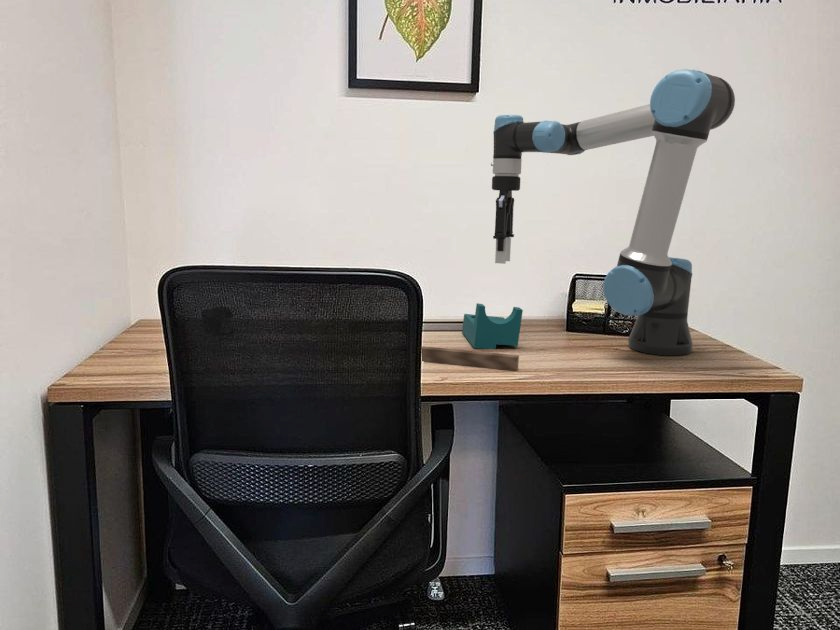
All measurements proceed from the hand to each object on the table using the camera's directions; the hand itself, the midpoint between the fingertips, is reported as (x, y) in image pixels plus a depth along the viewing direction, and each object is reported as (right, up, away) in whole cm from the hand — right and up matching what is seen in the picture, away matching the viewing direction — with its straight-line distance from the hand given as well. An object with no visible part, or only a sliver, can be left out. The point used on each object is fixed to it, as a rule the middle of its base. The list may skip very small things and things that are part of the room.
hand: (502, 261), depth 188 cm
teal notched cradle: (-5, -21, -10) cm, 24 cm away
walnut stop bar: (-12, -26, -35) cm, 45 cm away
